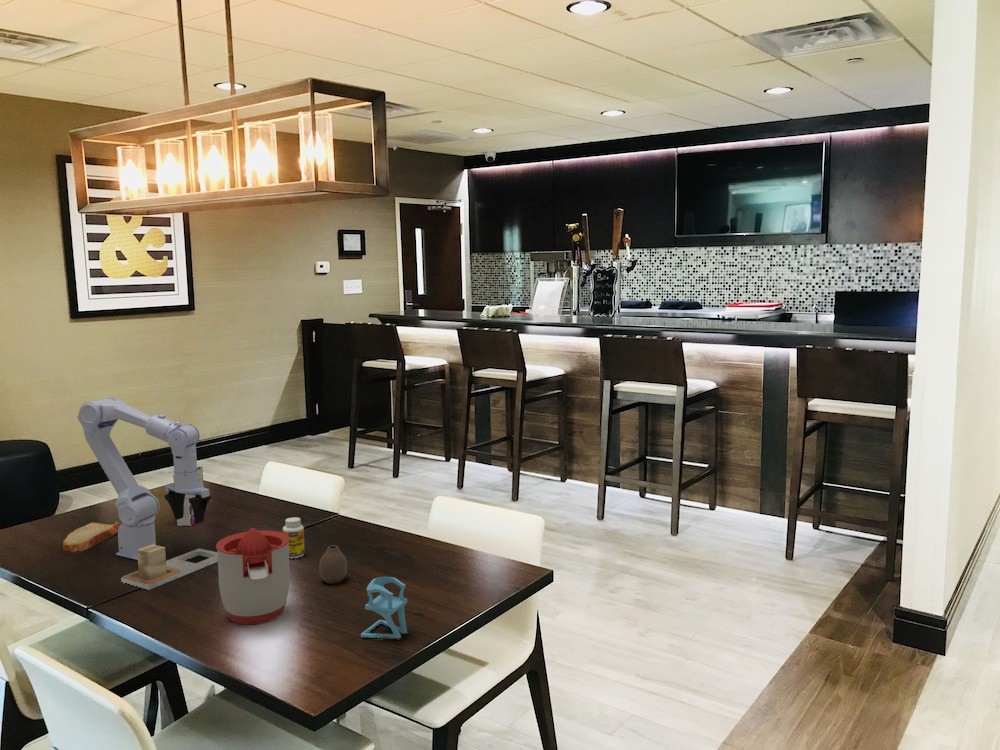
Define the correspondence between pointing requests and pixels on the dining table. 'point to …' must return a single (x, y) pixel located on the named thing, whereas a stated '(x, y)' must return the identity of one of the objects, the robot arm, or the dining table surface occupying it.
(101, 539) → the bread slice
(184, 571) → the rail
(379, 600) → the chair
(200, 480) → the candy bar box
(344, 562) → the vase
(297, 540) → the supplement bottle
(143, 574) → the birch peg
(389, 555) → the dining table surface
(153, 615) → the dining table surface
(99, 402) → the robot arm
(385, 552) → the dining table surface
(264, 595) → the citrus juicer
